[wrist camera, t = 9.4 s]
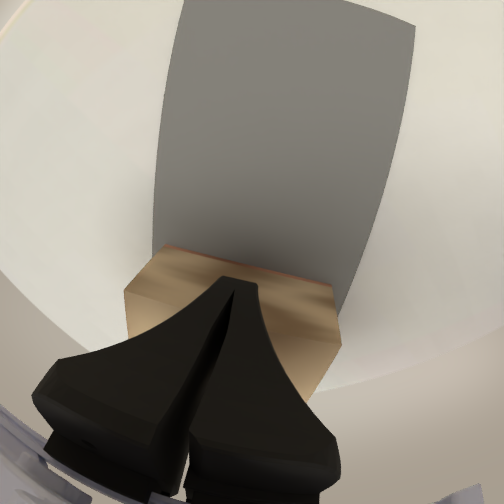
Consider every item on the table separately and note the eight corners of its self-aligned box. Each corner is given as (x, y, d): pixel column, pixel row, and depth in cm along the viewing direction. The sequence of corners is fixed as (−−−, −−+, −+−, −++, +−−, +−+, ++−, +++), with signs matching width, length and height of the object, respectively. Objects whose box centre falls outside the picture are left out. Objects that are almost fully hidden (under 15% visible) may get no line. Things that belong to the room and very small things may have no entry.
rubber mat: (413, 27, 9) (415, 26, 9) (321, 348, 19) (321, 350, 18) (190, -14, 9) (188, -15, 9) (155, 310, 19) (153, 312, 19)
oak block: (305, 404, 14) (305, 344, 18) (341, 345, 11) (331, 284, 16) (131, 359, 14) (162, 308, 19) (123, 290, 12) (165, 244, 16)
